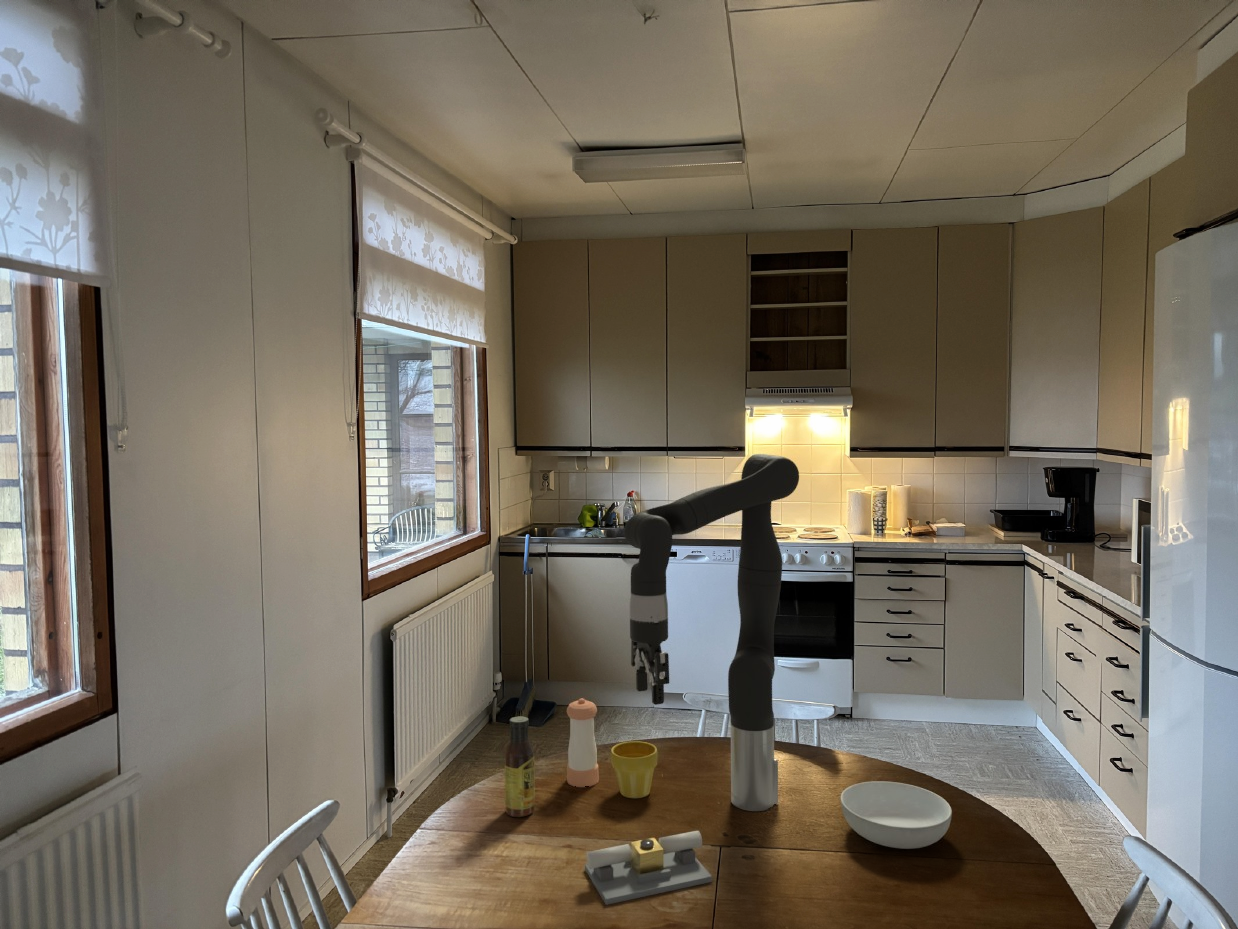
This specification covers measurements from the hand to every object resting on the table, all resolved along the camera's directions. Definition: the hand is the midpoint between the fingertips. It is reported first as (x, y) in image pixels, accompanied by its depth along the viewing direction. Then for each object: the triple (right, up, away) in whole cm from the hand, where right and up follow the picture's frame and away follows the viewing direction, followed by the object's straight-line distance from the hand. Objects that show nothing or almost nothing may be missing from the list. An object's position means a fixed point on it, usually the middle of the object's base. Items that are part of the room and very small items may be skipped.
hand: (649, 697), depth 162 cm
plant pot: (-3, -28, +21) cm, 35 cm away
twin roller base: (-1, -29, -13) cm, 32 cm away
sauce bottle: (-27, -28, +13) cm, 41 cm away
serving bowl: (+48, -28, 0) cm, 56 cm away
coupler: (-1, -28, -13) cm, 31 cm away
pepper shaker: (-14, -27, +28) cm, 42 cm away
